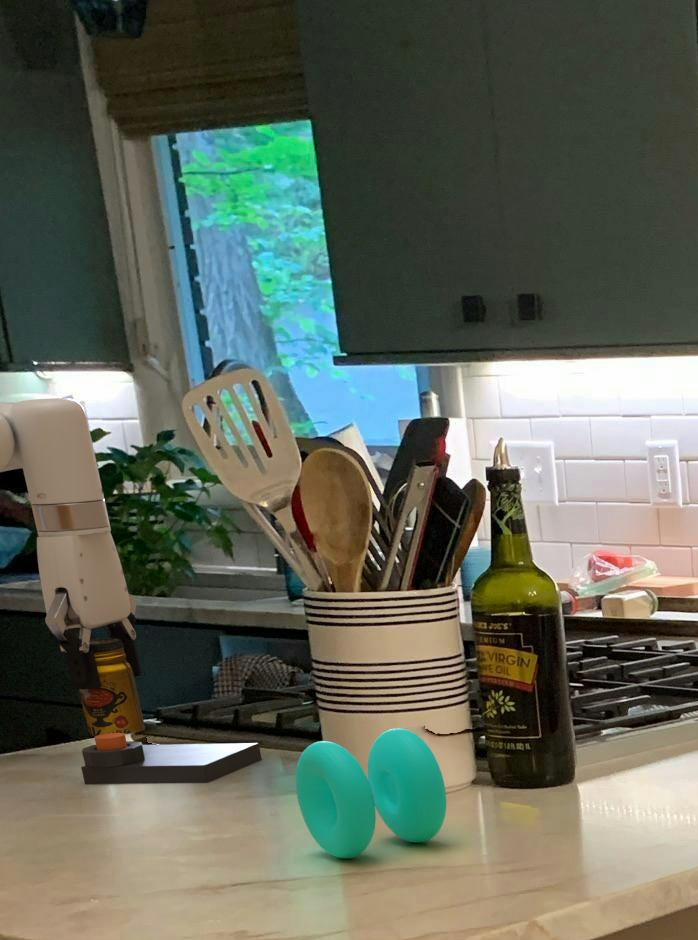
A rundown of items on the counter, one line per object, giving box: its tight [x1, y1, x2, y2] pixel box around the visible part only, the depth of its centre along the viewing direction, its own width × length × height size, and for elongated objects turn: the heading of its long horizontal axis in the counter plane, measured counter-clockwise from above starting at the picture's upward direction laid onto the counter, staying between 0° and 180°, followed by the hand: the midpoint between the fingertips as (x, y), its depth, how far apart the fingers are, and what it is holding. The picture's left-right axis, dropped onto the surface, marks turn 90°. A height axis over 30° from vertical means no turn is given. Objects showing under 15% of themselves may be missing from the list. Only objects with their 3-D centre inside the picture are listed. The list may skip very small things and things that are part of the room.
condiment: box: [78, 638, 158, 745], centre depth 221 cm, size 7×8×12 cm
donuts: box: [295, 727, 447, 859], centre depth 168 cm, size 10×10×10 cm
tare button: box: [93, 733, 127, 750], centre depth 204 cm, size 3×3×2 cm
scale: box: [80, 740, 262, 785], centre depth 207 cm, size 14×12×4 cm
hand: (107, 681), depth 220 cm, fingers open, 7 cm apart
